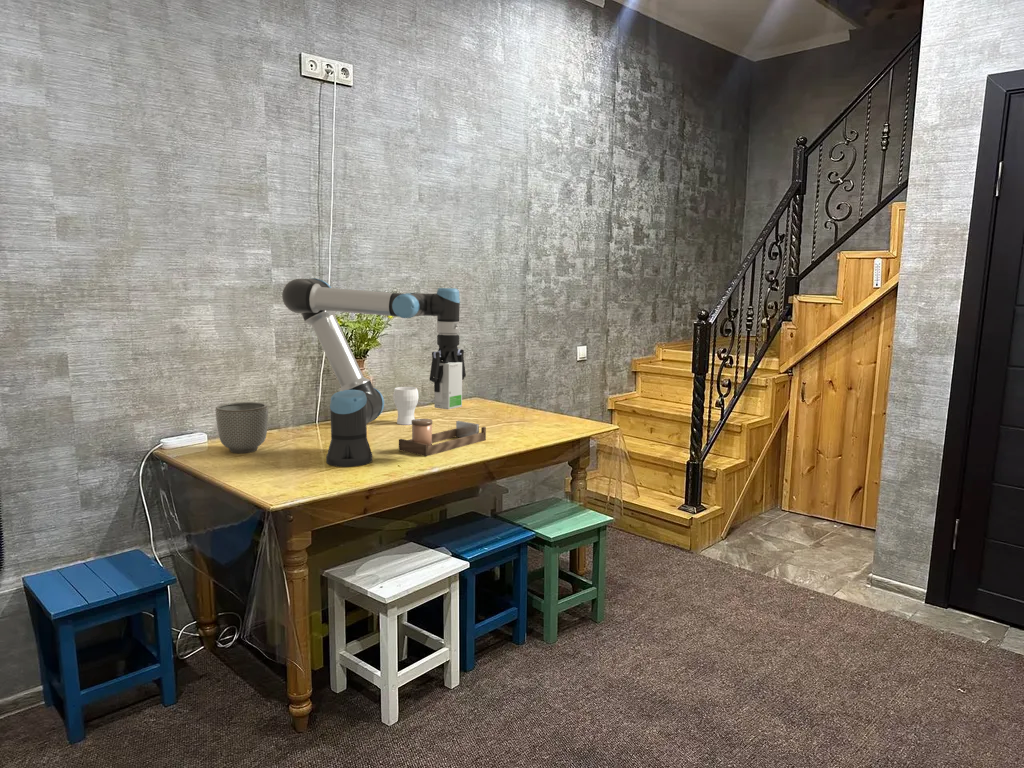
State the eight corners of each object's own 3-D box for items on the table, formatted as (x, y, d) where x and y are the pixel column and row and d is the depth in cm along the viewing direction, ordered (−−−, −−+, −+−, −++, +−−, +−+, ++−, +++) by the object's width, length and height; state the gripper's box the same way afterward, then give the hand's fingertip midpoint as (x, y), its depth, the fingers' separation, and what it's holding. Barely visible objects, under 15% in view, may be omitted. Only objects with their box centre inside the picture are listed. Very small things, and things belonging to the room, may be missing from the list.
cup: (423, 422, 303) (423, 388, 301) (407, 426, 294) (407, 391, 292) (404, 419, 309) (404, 385, 307) (388, 423, 300) (387, 388, 298)
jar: (422, 454, 249) (422, 423, 248) (407, 451, 254) (407, 420, 252) (436, 450, 255) (436, 420, 253) (421, 447, 259) (421, 417, 258)
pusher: (476, 440, 270) (476, 424, 270) (456, 436, 277) (456, 421, 276) (484, 438, 274) (484, 423, 273) (463, 434, 280) (464, 419, 279)
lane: (425, 456, 246) (425, 442, 246) (398, 450, 254) (398, 436, 254) (485, 439, 272) (485, 427, 272) (459, 434, 280) (459, 422, 280)
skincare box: (448, 410, 238) (448, 364, 236) (432, 407, 242) (432, 362, 239) (463, 406, 245) (463, 361, 243) (447, 404, 249) (448, 360, 247)
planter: (273, 444, 261) (271, 401, 258) (265, 455, 244) (263, 410, 241) (223, 445, 258) (221, 402, 255) (212, 457, 241) (209, 411, 238)
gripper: (434, 336, 229) (434, 405, 233) (476, 333, 246) (476, 397, 249) (418, 334, 234) (418, 402, 237) (460, 331, 250) (460, 394, 254)
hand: (447, 399), depth 243 cm, fingers closed on skincare box, 8 cm apart
